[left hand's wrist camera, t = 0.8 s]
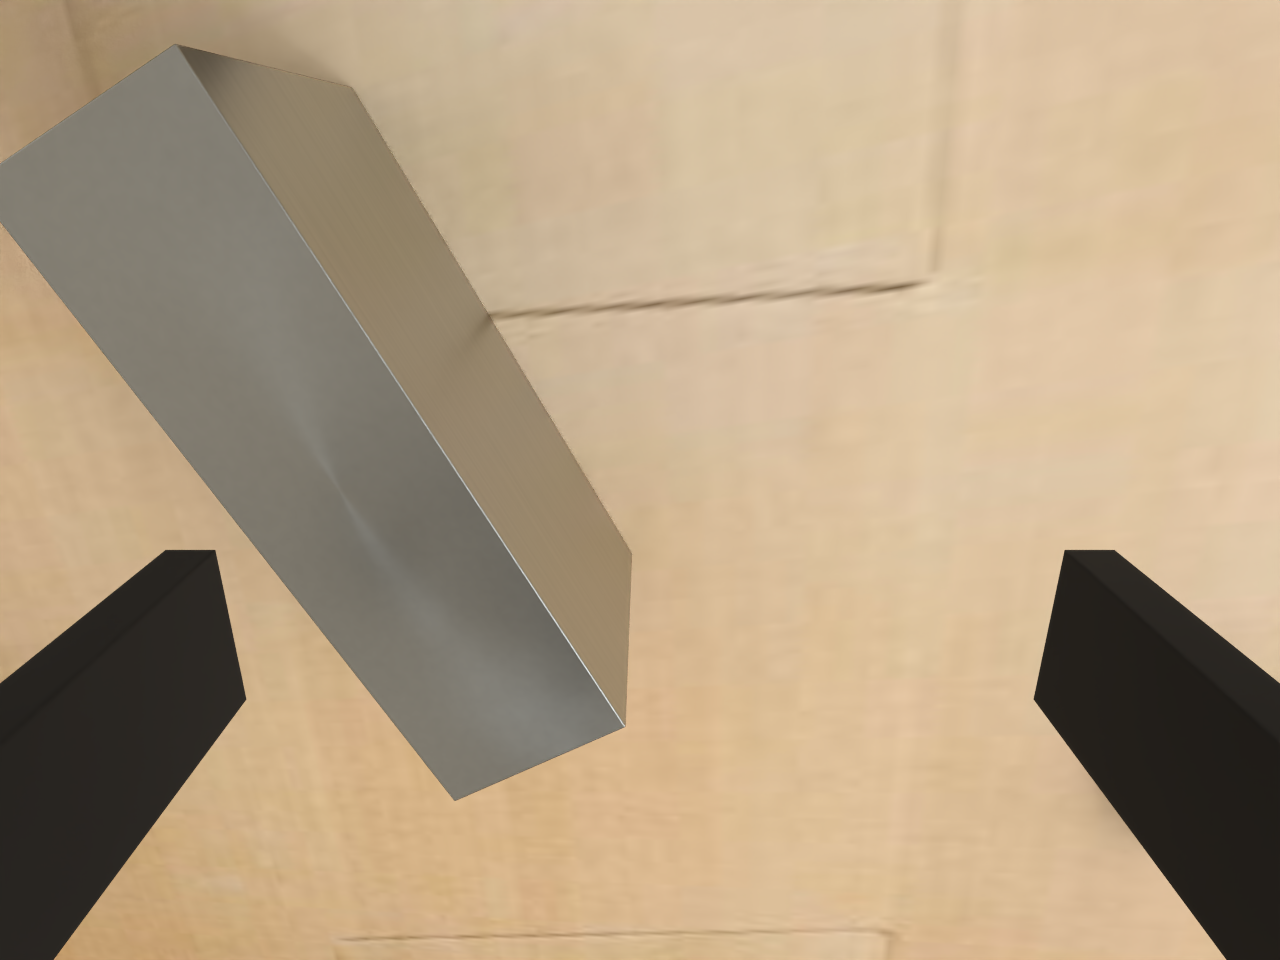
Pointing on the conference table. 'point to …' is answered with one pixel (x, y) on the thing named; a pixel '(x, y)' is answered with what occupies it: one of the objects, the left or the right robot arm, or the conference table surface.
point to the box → (339, 398)
